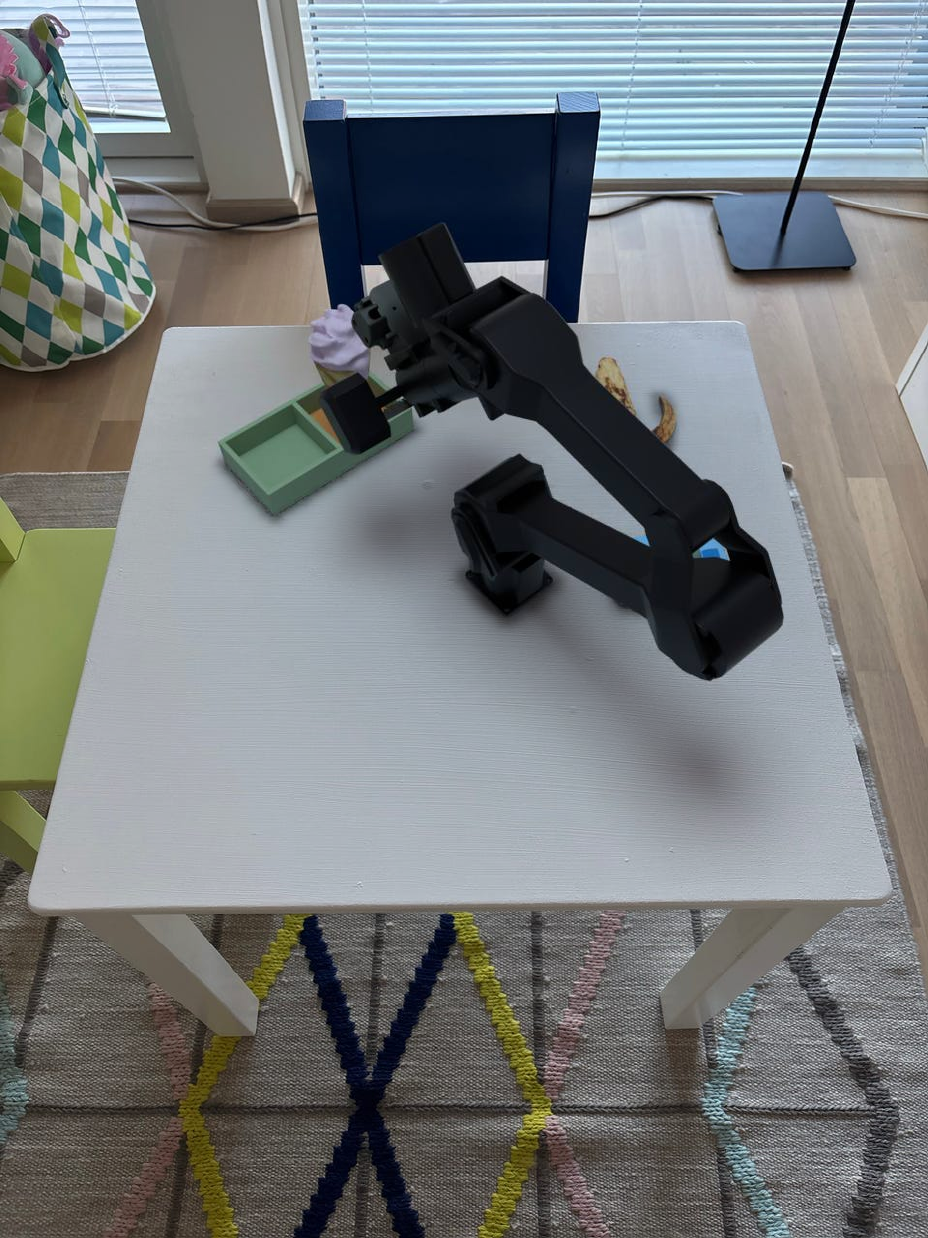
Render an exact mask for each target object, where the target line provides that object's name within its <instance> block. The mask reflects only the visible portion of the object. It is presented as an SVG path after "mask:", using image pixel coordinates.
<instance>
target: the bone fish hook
mask: <svg viewBox="0 0 928 1238" xmlns="http://www.w3.org/2000/svg"><path fill="white" fill-rule="evenodd" d="M594 377H595V378H596V379H597V380H598V381H599V382H600V383H601V384H602V385H603V386H604V387H605V388H607V389H608V390H609V391H610V392H611V393H612V394H613V395H614V396H615V397H616V398H617V399H618V400H619V401H620V402H621V403H622V404H623V405H624V406H625V407H626V408H628V409H629V410H630V411H631V412H632V413H633V414H634V415H635V416H636V417H637V412H636V410H635V408H634V405H633V402H632V399H631V397H630V394H629V391H628V387H627V384H626V380H625V378H624V377H625V376H623V373H622V370H621V367H620V366H619V365H618V363H617V360H616V359H614V358H613V357H602V358H601V359H600V360H599V361H598V362H597V370H596V371H595V373H594ZM658 402H659V406H660V409H661V413H662V415H661V419H660V422H659V424H658V425H657V426H655V428H653V429H652V430H651V431H652V432H653V433H654V434H655V435H656V436H657V437H658V438H659V439H660V440H661V441H662V442H663V443H664V444H665V445H666V446H667V444H668V443H669V442H670V440H671V438H672V437H673V435H674V433H675V429H676V425H677V414H676V411H675V409H674V407H673V405H672V404H671V403H670V401H668V400H667V399H666V398H665V397H664V396H662V395H659V396H658Z"/></svg>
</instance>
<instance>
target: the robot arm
mask: <svg viewBox="0 0 928 1238" xmlns="http://www.w3.org/2000/svg"><path fill="white" fill-rule="evenodd" d="M377 257H378V259H379V261H380V263H381V265H382V268H383V270H384V271H385V273H386V276H387V277H388V280H386V281H384V282H382V283H380V284H378V285H376V286H374V287H372V289H371V290H370V291H369V293H368V295H366V296H364V297H362V298H361V299H360V301H359V302H357V303H355V304H354V305H353V308H354V311H355V312H354V313H353V316H352V319H351V324H352V327H353V329H354V330H355V332H356V333H357V335H358V336H359V338H360V339H361V341H362V342H363V344H364V345H365V346H366V347H367V348H371V349H373V348H374V347H379V348H380V349H381V350H382V351H385V350H387V351H388V354H387V355H385V356H384V357H383V360H384V362H385V364H386V365H387V367H388V370H389V371H390V372H393V371H395V374H394V377H395V384H396V385H395V386H393V387H391V388H390V389H389V390H387V391H385V392H384V393H382V394H380V395H378V396H376V397H375V396H374V394H373V392H372V390H371V388H370V386H369V384H368V382H367V380H366V379H365V378H364V377H363V376H362V375H361V374H360V373H359V372H357V373H355V374H353V375H351V376H349V377H347V378H345V379H343V380H341V381H339V382H337V383H335V384H334V385H332V386H330V387H328V388H326V389H324V390H322V391H321V392H320V393H319V397H318V402H319V404H320V406H321V408H322V410H323V412H324V414H325V415H326V417H327V419H328V421H329V423H330V425H331V427H332V428H333V430H334V432H335V434H336V436H337V438H338V440H339V441H340V443H341V445H342V447H343V449H344V451H345V453H348V454H351V455H360V454H362V453H364V452H366V451H367V450H369V449H371V448H372V447H374V446H376V445H378V444H379V443H381V442H383V441H385V440H386V439H388V438H390V437H392V436H391V427H390V425H389V423H388V420H390V419H391V418H393V417H395V416H397V415H398V414H400V413H402V412H404V411H405V410H407V409H409V408H414V410H415V412H416V415H417V416H418V418H419V419H421V418H424V417H426V416H428V415H430V414H431V413H433V412H435V411H436V412H437V414H441V413H444V412H446V411H448V410H450V409H451V408H453V407H455V406H456V405H458V404H460V403H461V402H463V401H468V400H471V399H476V398H478V401H479V403H480V405H481V406H482V408H483V411H484V413H485V414H486V416H487V419H488V420H489V421H491V422H494V421H495V420H497V419H499V418H500V417H502V416H504V415H508V416H511V417H515V418H520V419H523V420H528V421H532V422H536V423H537V424H538V425H539V426H541V427H542V428H543V429H544V430H546V431H547V432H548V434H549V435H551V436H552V437H553V438H554V439H555V440H556V442H558V444H559V445H561V446H562V447H563V448H564V450H565V451H567V452H568V454H570V455H571V456H572V458H573V459H574V460H576V461H577V462H578V463H579V465H581V467H582V468H583V469H584V470H586V472H587V473H589V474H590V475H591V477H592V478H594V480H596V482H597V483H599V485H601V486H602V487H603V488H604V489H605V490H606V491H607V492H608V494H609V495H611V496H612V497H613V499H615V500H616V502H617V503H619V504H620V505H621V507H622V508H623V509H624V510H626V512H627V513H628V514H629V515H631V516H632V518H633V519H635V521H636V522H637V523H639V525H641V527H642V528H643V529H644V535H646V537H647V540H648V543H649V546H648V545H646V544H644V543H642V542H640V541H638V540H636V539H634V538H635V537H632V536H629V535H628V534H626V533H624V532H622V531H620V530H618V529H616V528H613V527H612V526H609V525H607V524H606V523H604V522H602V521H600V520H598V519H596V518H594V517H592V516H589V515H587V514H585V513H583V512H582V511H580V510H577V509H575V508H574V507H572V506H569V505H568V504H567V503H566V504H565V503H564V502H562V501H560V500H558V499H556V498H554V497H553V495H552V491H551V488H550V485H549V482H548V478H547V477H546V474H545V470H544V467H543V465H542V464H539V463H535V462H532V461H530V460H529V459H527V458H526V457H525V456H524V455H522V454H521V453H520V452H519V453H517V454H515V455H514V456H509V457H508V458H506V459H504V460H502V461H501V462H500V463H498V464H496V465H495V466H493V467H492V468H490V469H488V470H487V471H485V472H484V473H482V474H480V475H479V476H477V477H476V478H474V479H472V480H471V481H470V482H468V483H466V484H465V485H463V486H462V487H460V488H459V489H457V490H455V491H454V493H453V504H454V506H453V507H451V510H450V518H451V521H452V525H453V528H454V531H455V534H456V537H457V541H458V544H459V548H460V550H461V552H462V553H463V554H464V555H465V556H466V557H467V558H468V570H467V571H466V572H465V573H464V574H465V575H464V577H465V579H466V581H467V582H469V584H470V585H472V587H474V588H475V589H476V591H478V592H479V594H481V596H482V597H484V598H485V599H486V600H487V601H488V602H489V604H491V605H492V606H493V607H494V608H495V609H496V610H497V611H498V612H499V613H500V614H501V615H502V616H503V617H509V616H511V615H513V614H514V613H515V612H517V611H518V610H519V609H521V608H522V607H523V606H525V605H526V604H528V603H529V602H531V601H532V600H533V599H534V598H536V597H537V596H538V595H540V594H541V593H542V592H544V591H545V590H546V589H548V588H549V587H551V586H552V585H553V584H554V577H553V576H552V575H550V574H549V572H547V571H546V570H545V569H544V568H545V561H546V562H547V563H549V564H551V565H552V566H555V567H556V568H558V569H560V570H562V571H563V572H565V573H567V574H568V575H570V576H572V577H574V578H575V579H577V580H579V581H581V582H582V583H584V584H586V585H587V586H589V587H591V588H593V589H595V590H597V591H598V592H599V593H602V594H603V595H605V596H607V597H608V598H610V599H612V600H614V601H616V602H617V603H618V604H621V605H622V606H624V607H625V608H627V609H629V610H631V611H632V612H634V613H636V614H638V615H640V616H641V617H643V618H644V619H646V621H647V623H648V626H649V628H650V629H649V630H650V631H651V634H652V637H653V639H654V641H655V645H656V647H657V649H658V651H660V652H661V653H662V654H663V655H665V656H666V657H667V658H669V659H670V660H671V661H672V662H673V663H674V665H675V666H676V667H678V668H679V669H680V670H682V671H683V672H684V673H686V674H688V675H690V676H693V677H695V678H698V679H700V680H703V681H708V682H713V680H717V679H719V678H722V677H724V676H725V675H726V674H727V673H728V672H730V671H731V670H732V669H733V668H735V667H736V666H737V665H738V664H739V663H741V662H742V661H743V660H744V659H745V658H748V656H749V655H751V654H752V653H753V652H754V651H756V650H757V649H759V647H760V646H761V645H763V644H764V643H765V642H766V641H768V640H769V639H770V638H771V637H772V636H774V635H775V634H776V633H778V632H779V630H780V629H781V628H782V626H783V625H784V624H783V623H784V619H785V615H784V611H783V606H782V605H783V598H782V593H781V590H780V587H779V583H778V580H777V577H776V573H775V570H774V567H773V563H772V560H771V557H770V553H769V551H768V550H767V548H766V547H765V546H763V544H761V543H760V542H759V541H757V539H755V537H753V536H752V535H751V534H749V533H748V531H746V530H744V529H743V528H742V527H741V526H740V523H739V520H738V516H737V514H736V511H735V506H734V504H733V501H732V500H731V497H730V495H729V494H728V492H727V491H726V490H725V489H724V488H723V486H721V485H720V484H719V483H717V482H716V481H715V480H711V479H709V478H701V477H700V476H699V475H698V474H697V473H696V472H695V471H694V470H693V469H691V467H690V466H689V465H688V464H686V463H685V462H684V460H682V458H680V457H679V456H678V455H677V454H676V453H675V452H674V451H673V450H672V449H671V448H670V447H669V446H668V445H667V444H666V445H665V444H664V443H663V442H662V441H661V440H660V439H659V438H658V437H657V436H656V435H655V434H654V433H653V432H652V430H651V429H650V428H649V427H648V426H647V425H645V423H644V422H642V420H640V418H638V417H637V415H636V416H635V415H634V414H633V413H632V412H631V411H630V410H629V409H628V408H626V407H625V406H624V405H623V404H622V403H621V402H620V401H619V400H618V399H617V398H616V397H615V396H614V395H613V394H612V393H611V392H610V391H609V390H608V389H607V388H605V387H604V386H603V385H602V384H601V383H600V382H599V381H598V380H597V379H596V378H595V375H594V374H593V373H591V371H590V370H589V368H588V367H587V366H586V365H585V364H584V360H583V355H582V350H581V345H580V340H579V336H578V335H577V333H576V332H575V331H574V329H572V327H571V326H570V325H569V324H568V323H567V321H566V320H565V318H563V317H562V315H561V314H560V312H559V311H558V310H557V309H556V308H555V307H554V306H553V305H552V304H551V303H550V302H549V301H548V300H546V299H545V298H544V297H542V295H539V294H537V293H535V292H531V291H529V290H527V289H526V288H524V287H522V286H520V285H519V284H517V283H516V282H514V281H512V280H511V279H509V278H508V277H506V276H503V275H500V276H498V277H497V278H495V279H493V280H491V281H489V282H487V283H485V284H484V285H481V286H480V287H478V288H477V286H476V285H475V282H474V281H473V279H472V276H471V274H470V273H469V270H468V268H467V266H466V264H465V262H464V259H463V257H462V255H461V253H460V251H459V249H458V247H457V244H456V243H455V241H454V238H453V236H452V234H451V232H450V230H449V228H448V226H447V224H446V222H443V221H441V222H438V223H436V224H435V225H433V226H431V227H430V228H427V229H425V230H423V231H422V232H420V233H418V234H415V235H413V236H412V237H410V238H408V239H406V240H403V241H402V242H399V243H398V244H396V245H394V246H392V247H390V248H388V249H387V250H385V251H383V252H381V253H380V254H379V255H378V256H377ZM399 398H401V399H402V402H401V401H400V400H399V401H398V403H397V402H396V403H394V404H395V406H394V405H393V404H392V405H391V407H390V406H389V407H387V409H388V410H387V409H386V408H385V409H384V412H383V411H382V409H381V408H383V407H384V406H386V405H388V404H390V403H392V402H393V401H395V400H397V399H399ZM712 539H715V540H716V541H717V542H718V543H719V544H721V545H722V546H723V548H724V549H725V551H726V554H727V557H728V560H726V559H723V558H719V557H703V558H694V557H693V555H692V554H693V553H694V552H696V551H697V550H698V549H700V548H701V547H702V546H704V545H705V544H706V543H708V542H709V541H710V540H712ZM470 575H471V576H470Z"/></svg>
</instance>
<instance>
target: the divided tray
mask: <svg viewBox="0 0 928 1238" xmlns="http://www.w3.org/2000/svg"><path fill="white" fill-rule="evenodd" d="M368 384H369V386H370V388H371V390H372V392H373V394H374V396H375V397H376V396H378V395H380V394H382V393H384V392H385V391H387V390H389V389H391V388H390V387H389V386H388V385H387V384H386V383H384V381H383V380H381V378H379V377H378V375H376V374H374V372H373V371H371V370H370V369H369V376H368ZM324 389H326V386H325V384H324V383H323V381H321V382H320V383H318V384H316V385H314V386H313V387H311V388H309V389H307V390H305V391H303V392H302V393H300V394H298V395H296V396H295V397H293V398H291V399H290V400H288V401H285V403H283V404H281V405H279V406H278V407H276V408H274V409H272V410H271V411H269V412H267V413H265V414H263V415H262V416H260V417H258V418H256V419H255V420H253V421H251V422H249V423H248V424H246V425H245V426H242V427H241V428H239V429H237V430H236V431H233V432H231V433H230V434H229V435H227V436H225V437H223V438H221V439H219V440H218V441H217V443H218V446H219V449H220V453H221V455H222V458H223V461H224V464H225V465H226V466H227V467H228V468H229V469H230V470H231V471H232V472H233V473H234V474H235V476H236V477H238V479H239V480H240V481H241V482H242V483H243V484H244V485H245V486H246V487H247V489H249V490H250V491H251V493H252V494H253V495H254V496H255V497H256V498H257V499H258V500H259V501H260V502H261V503H262V505H263V506H265V508H266V509H267V510H268V511H269V512H270V513H271V514H272V516H277V515H278V514H280V513H281V512H283V511H285V510H286V509H288V508H290V507H291V506H292V505H294V504H296V503H298V502H299V501H301V500H303V499H304V498H307V496H309V495H311V494H313V493H314V492H316V491H317V490H318V489H320V488H322V487H324V486H326V485H327V484H328V483H330V482H331V481H333V480H335V479H336V478H338V477H340V476H342V475H343V474H344V473H346V472H347V471H350V470H351V469H352V468H355V467H356V466H358V465H359V464H361V463H363V462H364V461H366V460H367V459H369V458H371V457H372V456H373V455H375V454H377V453H378V452H380V451H382V450H383V449H385V448H386V447H388V446H390V445H391V444H393V443H395V442H396V441H398V440H400V439H401V438H403V437H405V436H407V434H409V433H410V432H411V433H412V431H414V430H415V427H414V416H413V414H414V413H413V407H411V408H409V409H407V410H405V411H404V412H402V413H400V414H398V415H397V416H395V417H393V418H391V419H390V420H388V423H389V425H390V427H391V436H392V437H390V438H388V439H386V440H385V441H383V442H381V443H379V444H378V445H376V446H374V447H372V448H371V449H369V450H367V451H366V452H364V453H362V454H360V455H351V454H348V453H345V451H344V449H343V447H342V445H341V443H340V441H339V440H338V438H337V436H336V434H335V432H334V430H333V428H332V427H331V425H330V423H329V421H328V419H327V417H326V415H325V414H324V412H323V410H322V408H321V406H320V404H319V402H318V397H319V393H320V392H321V391H322V390H324ZM402 399H403V398H402V397H400V398H399V399H397V400H395V401H393V402H392V403H390V404H388V405H386V406H384V407H383V408H381V409H382V411H383V412H384V409H385V408H386V409H387V407H389V406H390V407H391V405H392V404H393V405H394V406H395V404H394V403H396V402H397V403H398V401H399V400H400V401H401V402H402ZM387 410H388V409H387Z"/></svg>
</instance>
